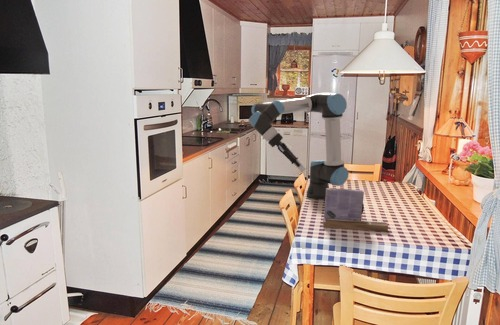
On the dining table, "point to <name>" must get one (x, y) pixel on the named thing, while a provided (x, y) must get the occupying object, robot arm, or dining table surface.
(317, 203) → the dining table surface
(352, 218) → the cake pan box
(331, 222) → the walnut board
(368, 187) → the dining table surface
